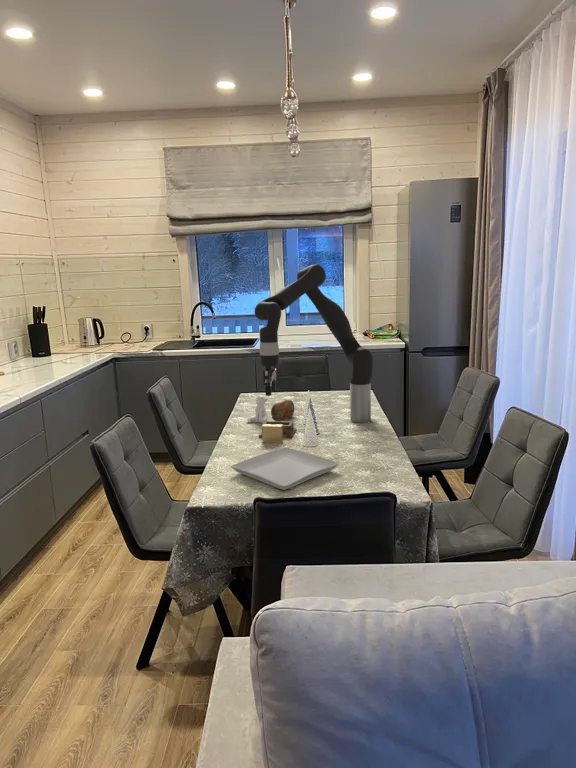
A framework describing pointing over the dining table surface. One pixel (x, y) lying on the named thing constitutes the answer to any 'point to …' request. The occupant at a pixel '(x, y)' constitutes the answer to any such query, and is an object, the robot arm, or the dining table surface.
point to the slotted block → (287, 428)
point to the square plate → (285, 467)
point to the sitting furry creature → (259, 411)
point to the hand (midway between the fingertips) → (270, 393)
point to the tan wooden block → (272, 433)
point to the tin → (282, 410)
